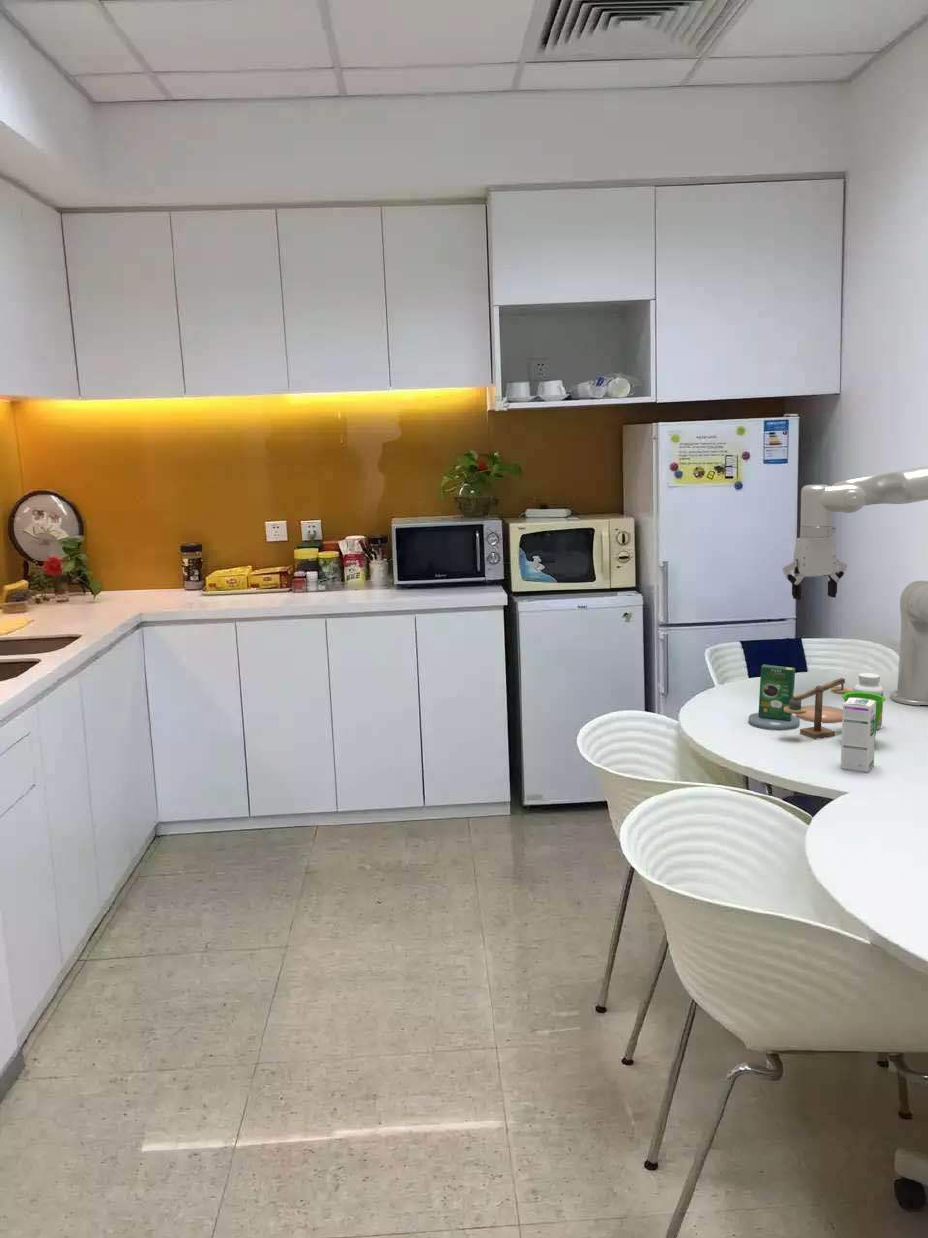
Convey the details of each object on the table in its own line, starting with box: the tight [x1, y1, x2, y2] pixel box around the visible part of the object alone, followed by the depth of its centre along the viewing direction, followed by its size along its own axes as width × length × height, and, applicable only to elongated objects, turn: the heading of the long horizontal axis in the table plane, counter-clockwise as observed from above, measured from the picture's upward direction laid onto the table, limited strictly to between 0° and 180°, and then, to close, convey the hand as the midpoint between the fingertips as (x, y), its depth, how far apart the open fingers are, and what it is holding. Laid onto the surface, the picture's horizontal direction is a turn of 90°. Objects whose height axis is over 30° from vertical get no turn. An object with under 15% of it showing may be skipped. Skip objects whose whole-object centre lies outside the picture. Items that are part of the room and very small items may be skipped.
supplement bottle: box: [853, 672, 884, 730], centre depth 241 cm, size 7×7×13 cm
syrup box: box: [840, 697, 876, 773], centre depth 213 cm, size 6×6×14 cm
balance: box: [784, 677, 854, 740], centre depth 236 cm, size 19×5×13 cm, turn 112°
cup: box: [841, 692, 886, 736], centre depth 229 cm, size 9×9×11 cm
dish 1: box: [748, 712, 801, 731], centre depth 247 cm, size 12×12×1 cm
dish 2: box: [795, 704, 843, 724], centre depth 252 cm, size 12×12×1 cm
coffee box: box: [758, 664, 796, 721], centre depth 246 cm, size 8×3×13 cm, turn 61°
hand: (814, 597), depth 263 cm, fingers open, 9 cm apart
